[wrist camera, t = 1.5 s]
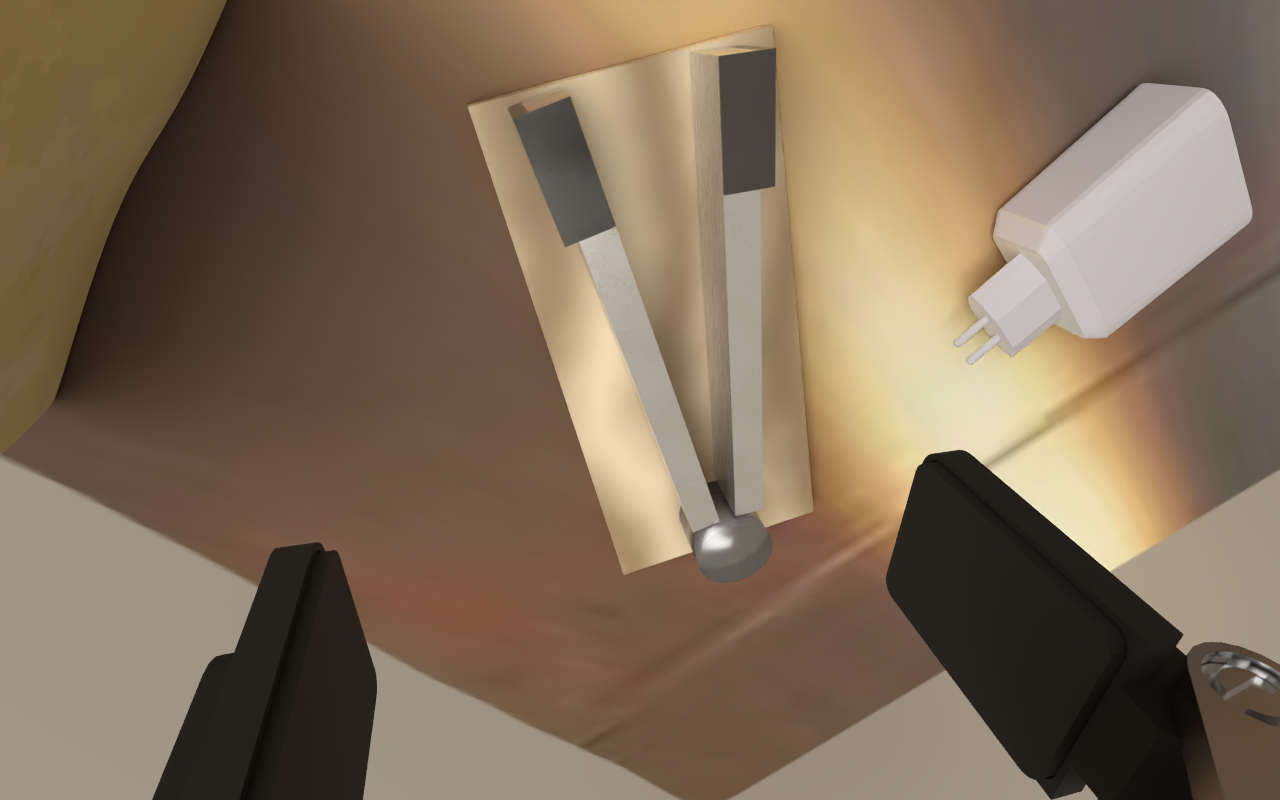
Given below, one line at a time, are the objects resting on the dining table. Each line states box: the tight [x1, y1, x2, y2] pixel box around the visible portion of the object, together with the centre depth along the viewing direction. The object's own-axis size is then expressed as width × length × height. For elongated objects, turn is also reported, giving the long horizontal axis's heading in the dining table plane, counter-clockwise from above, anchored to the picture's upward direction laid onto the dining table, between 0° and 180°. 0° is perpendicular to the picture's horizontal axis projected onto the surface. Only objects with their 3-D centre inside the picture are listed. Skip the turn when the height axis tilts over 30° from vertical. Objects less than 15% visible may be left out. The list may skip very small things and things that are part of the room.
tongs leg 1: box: [508, 88, 720, 532], centre depth 30 cm, size 22×2×4 cm, turn 19°
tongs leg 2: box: [690, 45, 776, 516], centre depth 31 cm, size 22×2×4 cm, turn 7°
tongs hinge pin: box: [679, 481, 772, 583], centre depth 38 cm, size 4×4×4 cm
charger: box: [954, 83, 1252, 365], centre depth 35 cm, size 5×9×15 cm
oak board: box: [468, 25, 814, 575], centre depth 34 cm, size 13×28×1 cm, turn 13°
